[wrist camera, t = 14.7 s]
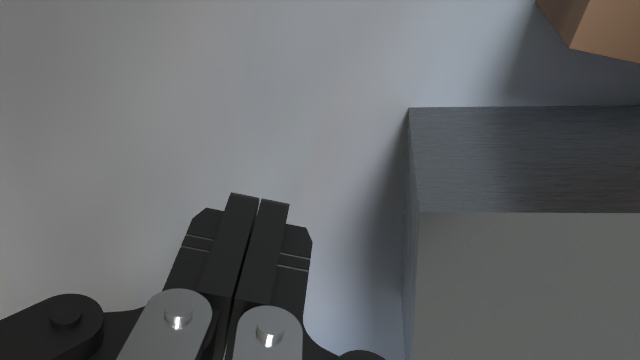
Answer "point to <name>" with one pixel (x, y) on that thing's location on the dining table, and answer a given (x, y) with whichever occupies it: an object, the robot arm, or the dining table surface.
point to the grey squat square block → (522, 233)
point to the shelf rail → (597, 25)
